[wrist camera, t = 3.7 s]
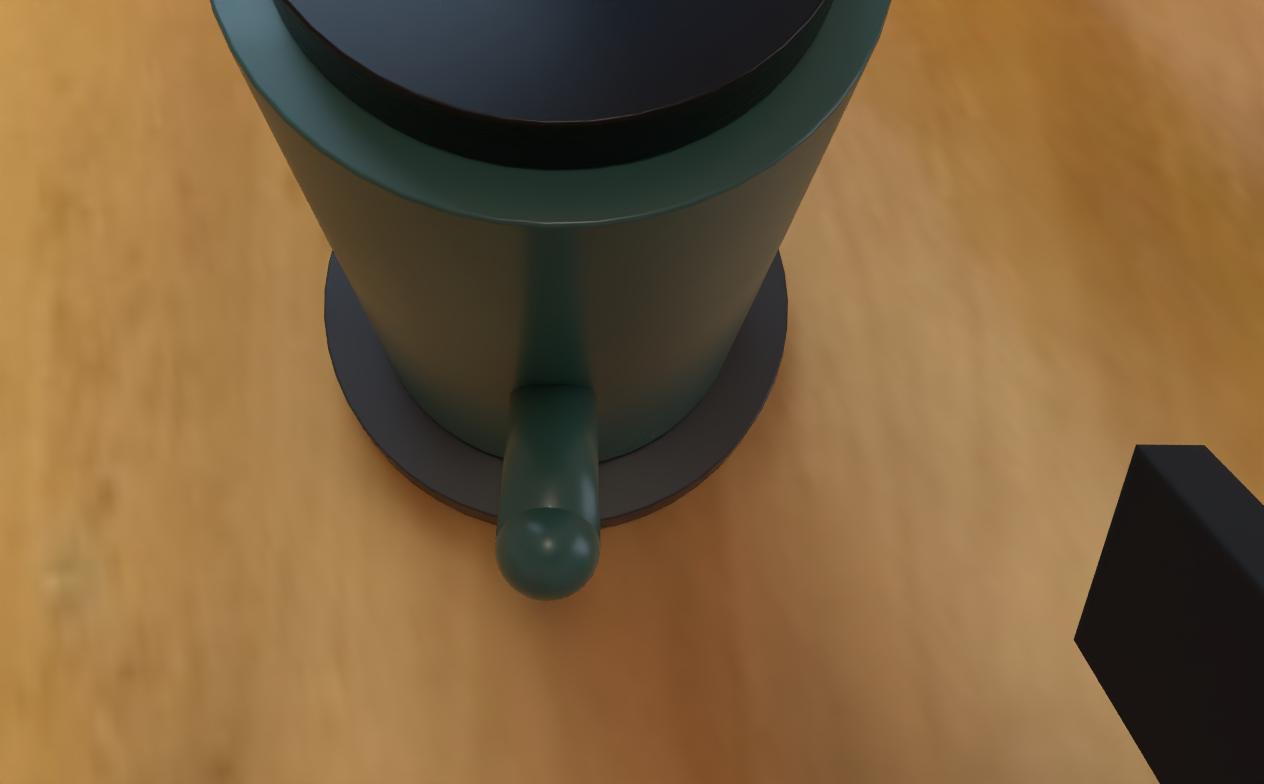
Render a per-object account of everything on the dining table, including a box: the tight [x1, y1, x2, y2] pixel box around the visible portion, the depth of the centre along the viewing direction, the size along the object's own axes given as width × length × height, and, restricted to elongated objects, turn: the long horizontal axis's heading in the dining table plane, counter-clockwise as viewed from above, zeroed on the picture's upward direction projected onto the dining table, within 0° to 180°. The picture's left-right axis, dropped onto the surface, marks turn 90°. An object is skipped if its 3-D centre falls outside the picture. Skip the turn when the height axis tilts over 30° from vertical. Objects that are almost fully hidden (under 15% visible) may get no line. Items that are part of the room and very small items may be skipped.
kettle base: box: [324, 249, 788, 528], centre depth 31 cm, size 13×13×2 cm
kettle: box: [210, 0, 891, 601], centre depth 21 cm, size 19×10×18 cm, turn 0°
